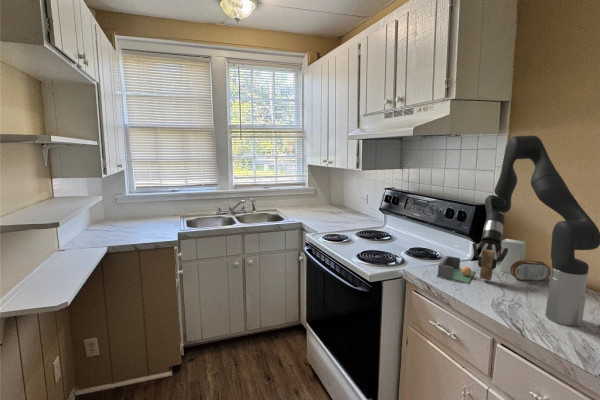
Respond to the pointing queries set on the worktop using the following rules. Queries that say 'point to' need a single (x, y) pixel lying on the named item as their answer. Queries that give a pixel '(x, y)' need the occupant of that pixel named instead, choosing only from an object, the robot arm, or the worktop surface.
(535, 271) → the tin
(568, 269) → the robot arm
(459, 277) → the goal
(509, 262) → the skincare box
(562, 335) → the worktop surface
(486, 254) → the brown wooden block
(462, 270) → the ball
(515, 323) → the worktop surface
